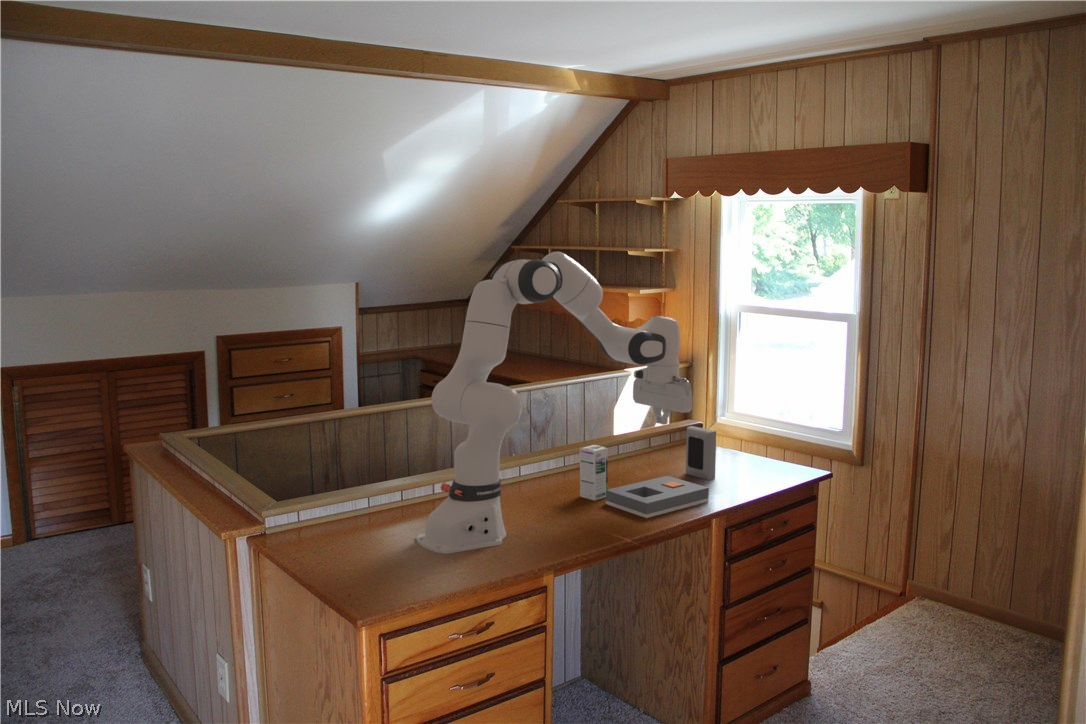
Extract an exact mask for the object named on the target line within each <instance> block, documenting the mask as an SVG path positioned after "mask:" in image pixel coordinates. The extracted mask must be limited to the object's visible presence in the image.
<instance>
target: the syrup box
mask: <svg viewBox="0 0 1086 724" xmlns="http://www.w3.org/2000/svg"><path fill="white" fill-rule="evenodd" d="M608 451H609V450H608V447H606V446H604V445H603V446H602V445H599V444H598V445H597V444H592V445H588V446H585V447H580V448H579V488H580V489H579V493H580V494H579V495H580V497H581V498H584V499H588V500H591V501H599V500H602V499H606V490H608V489H609V474H608V473H609V471H608V469H609V468H608V464H609V459H608V458H609V457H608V456H609V454H608V453H609V452H608Z"/></svg>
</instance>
